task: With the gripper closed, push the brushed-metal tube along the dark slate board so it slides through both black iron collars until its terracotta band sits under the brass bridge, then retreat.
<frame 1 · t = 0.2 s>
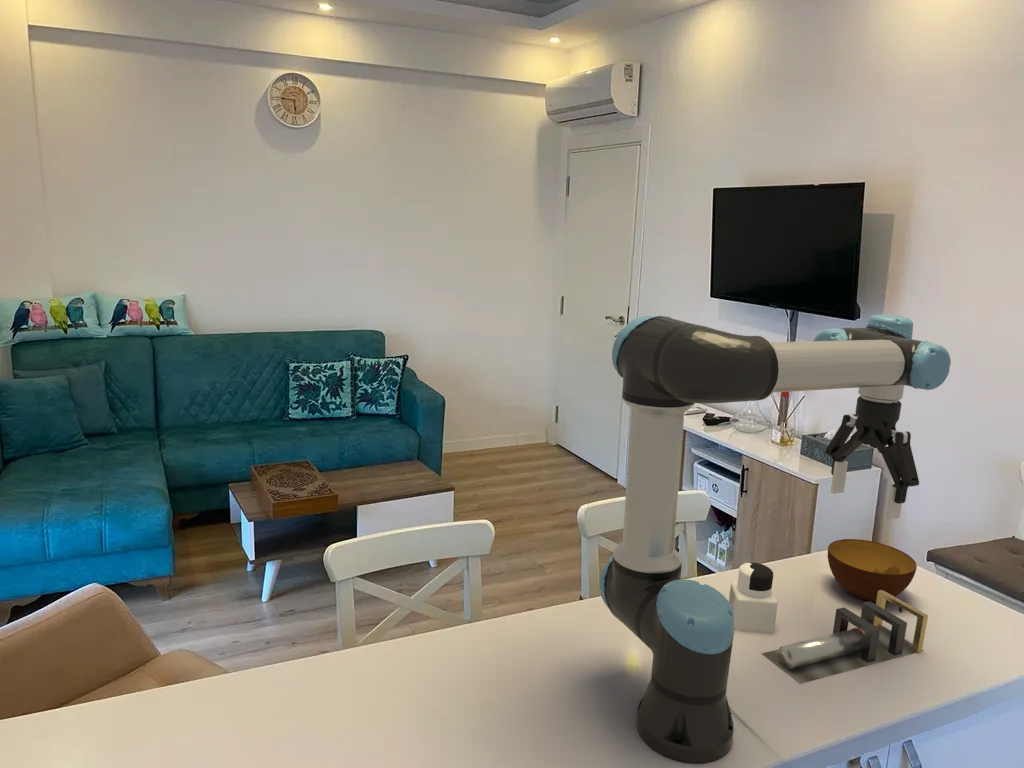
hand: (863, 504, 144), 28 cm above the kitchen counter, fingers open, 13 cm apart
board: (842, 656, 142), on the kitchen counter
collar a: (853, 649, 143), resting on board
container: (749, 627, 152), on the kitchen counter
collar b: (879, 642, 145), resting on board
bowl: (864, 598, 165), on the kitchen counter
tube: (825, 656, 140), point 1 cm above the kitchen counter, touching board
bridge: (896, 638, 147), resting on board
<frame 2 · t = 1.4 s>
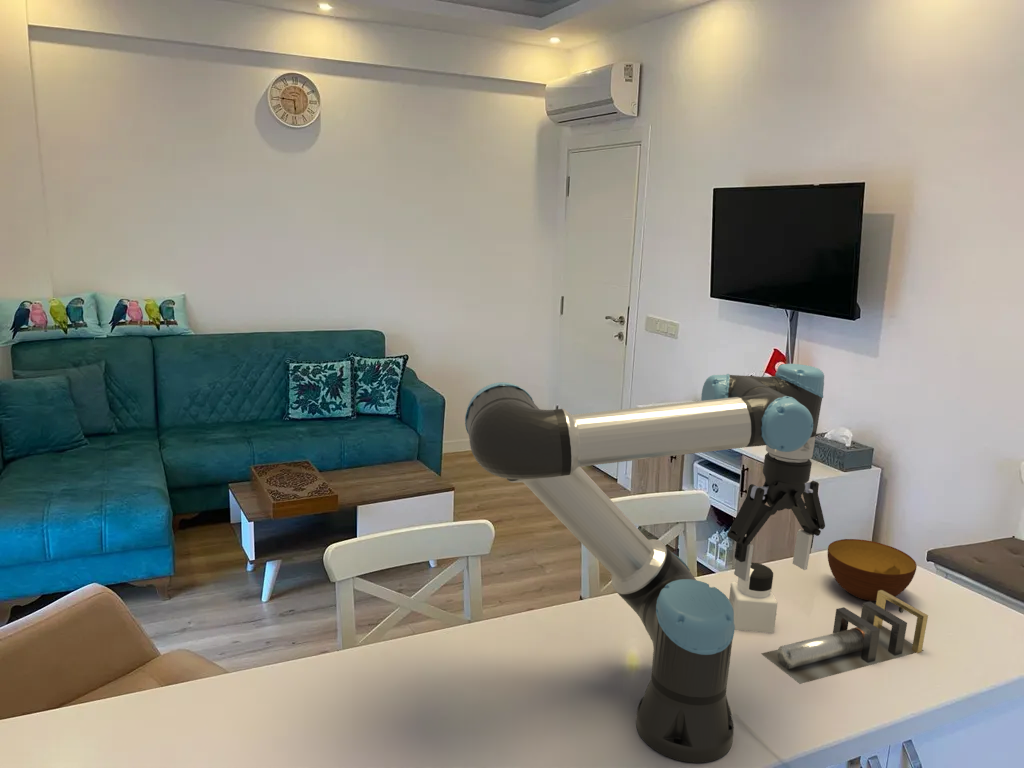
hand: (771, 572, 130), 20 cm above the kitchen counter, fingers open, 13 cm apart
nothing on the kitchen counter moved.
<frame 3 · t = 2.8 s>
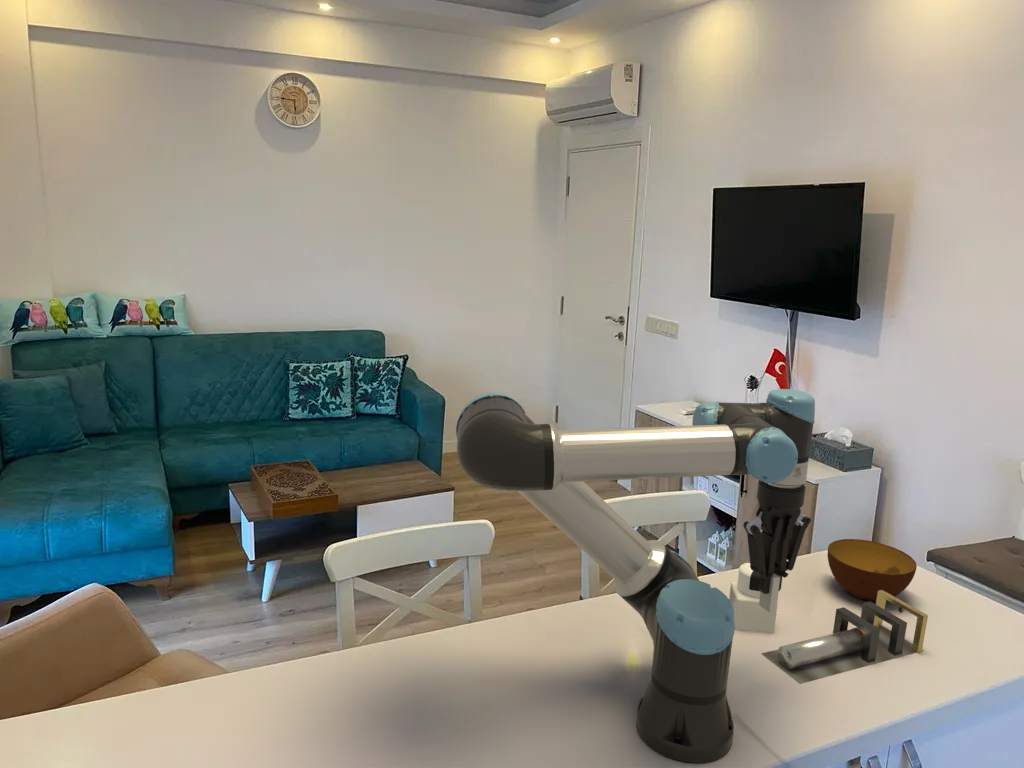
hand: (767, 608, 131), 14 cm above the kitchen counter, fingers closed
nothing on the kitchen counter moved.
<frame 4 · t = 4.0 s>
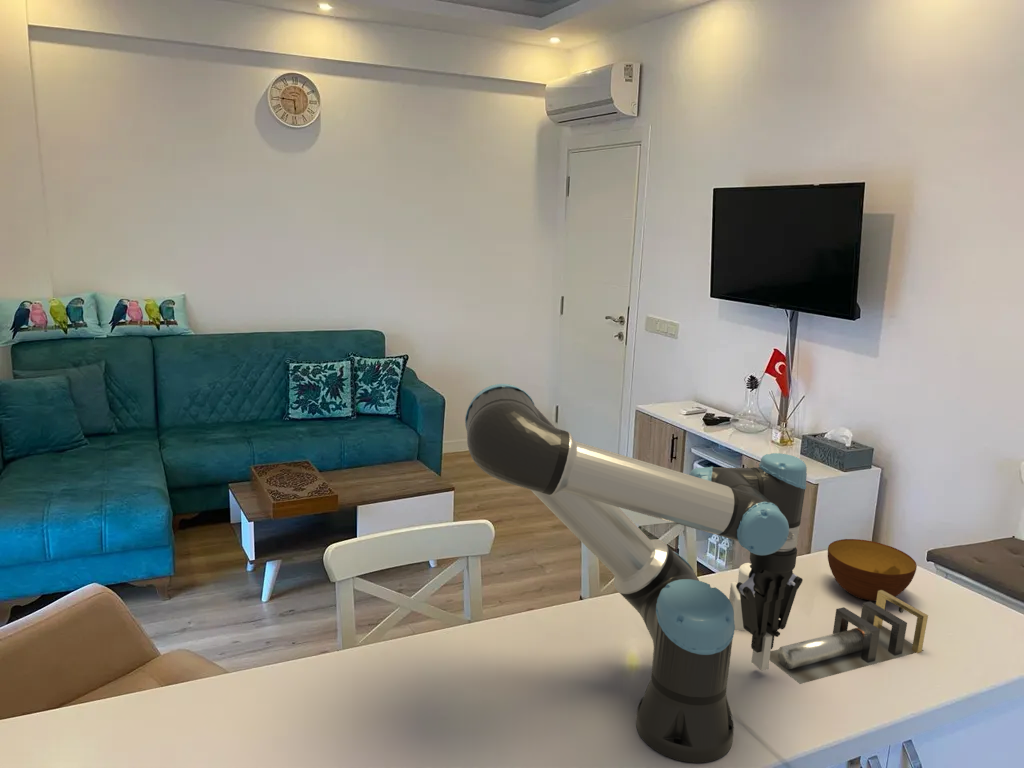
hand: (759, 665, 133), 3 cm above the kitchen counter, fingers closed
nothing on the kitchen counter moved.
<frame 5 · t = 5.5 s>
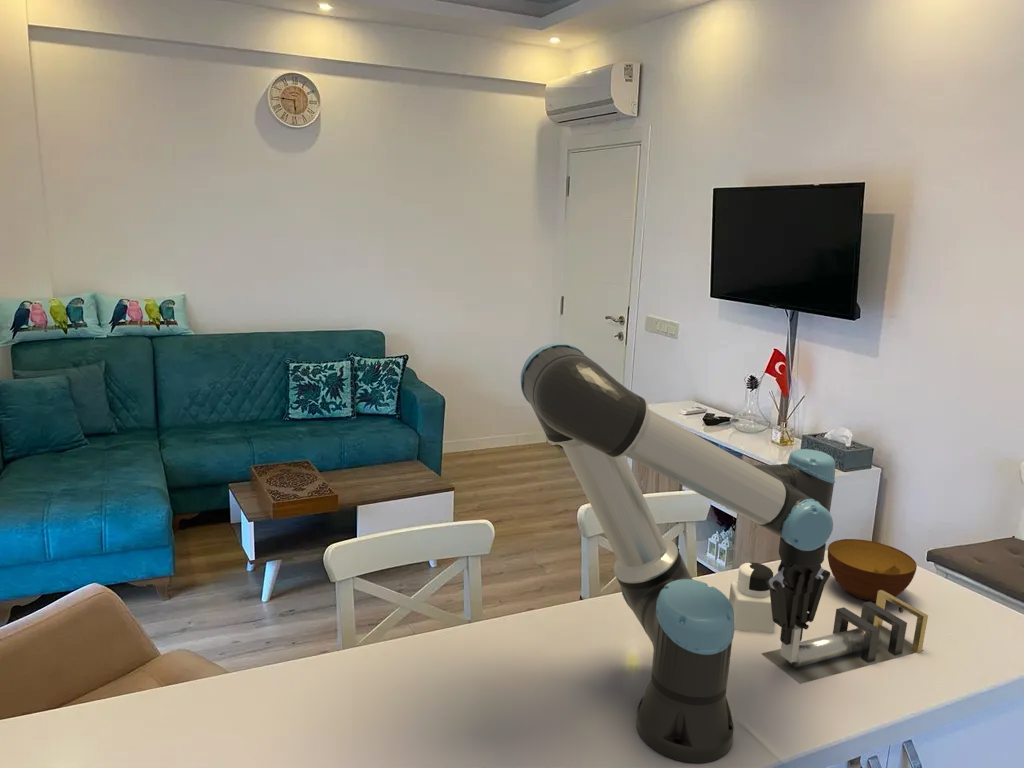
hand: (788, 657, 136), 3 cm above the kitchen counter, fingers closed
tube: (831, 655, 141), point 1 cm above the kitchen counter, touching gripper
everything else where it was.
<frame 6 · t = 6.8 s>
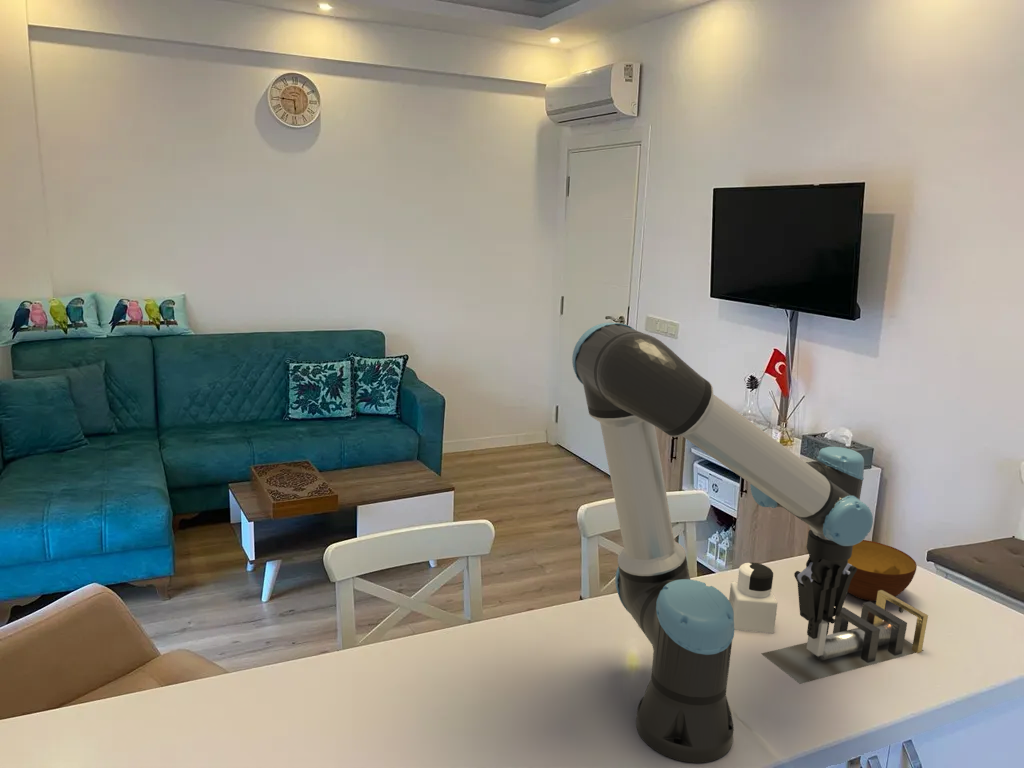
hand: (814, 651, 138), 3 cm above the kitchen counter, fingers closed
tube: (855, 648, 143), point 1 cm above the kitchen counter, touching gripper
everything else where it was.
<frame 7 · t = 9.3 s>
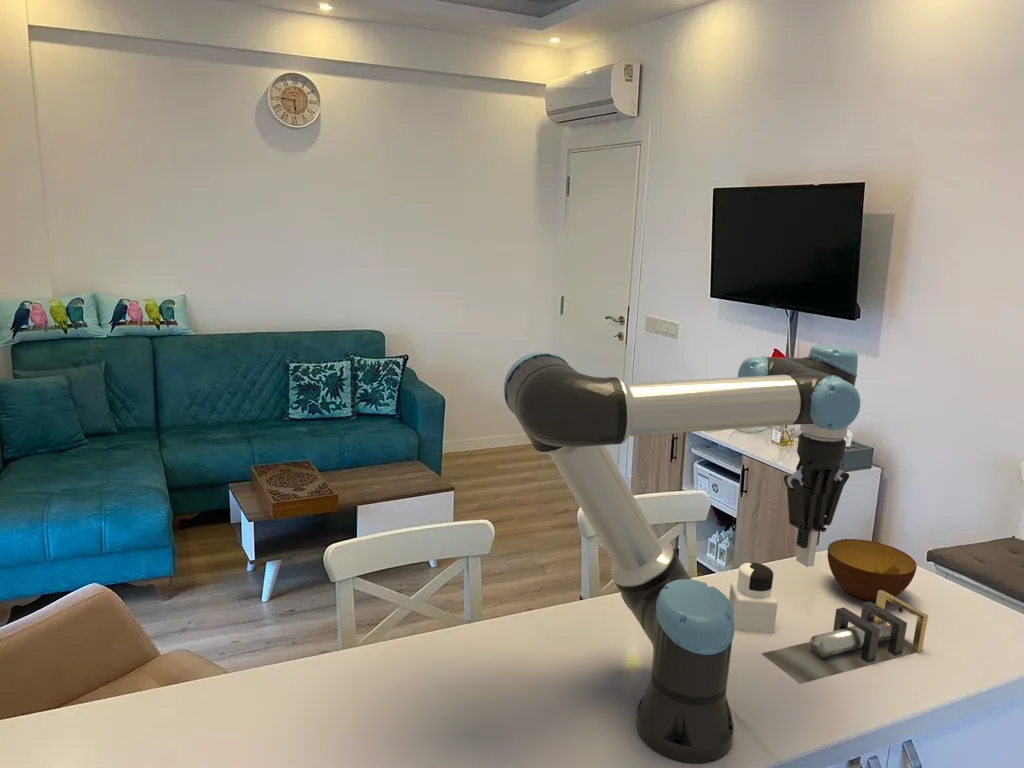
hand: (804, 562, 132), 21 cm above the kitchen counter, fingers closed
tube: (858, 647, 143), point 1 cm above the kitchen counter, tilted 15°, touching board
everything else where it was.
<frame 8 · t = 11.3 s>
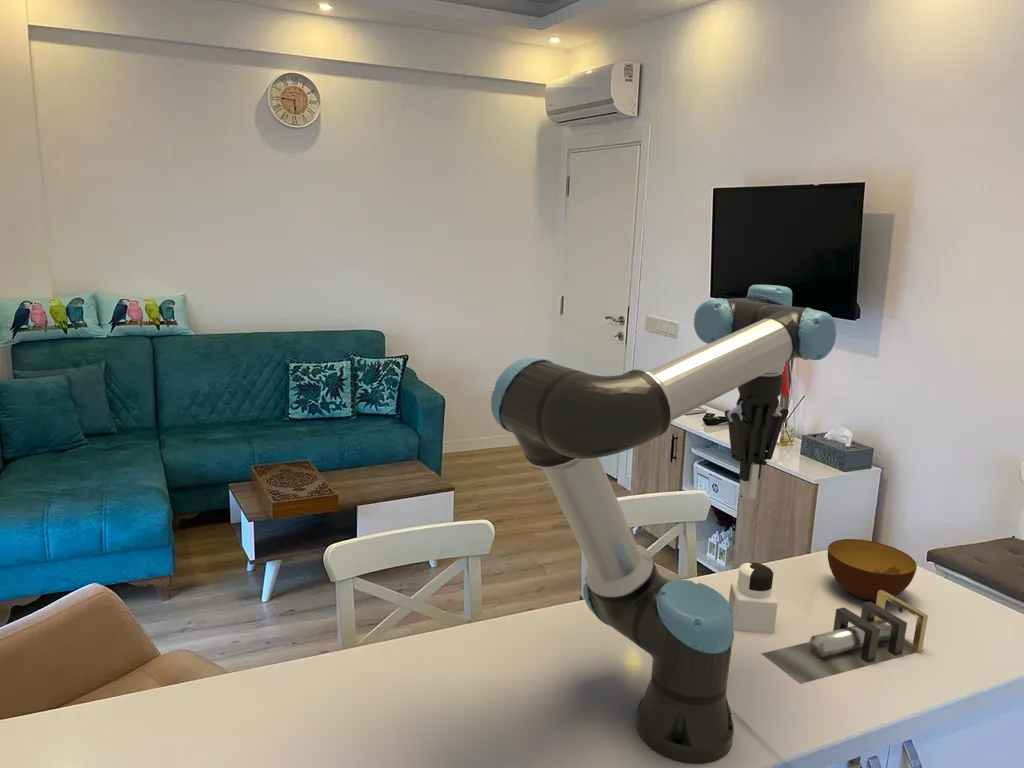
hand: (747, 496, 138), 30 cm above the kitchen counter, fingers closed
nothing on the kitchen counter moved.
at the end: tube 1.5 cm from the target spot, point 1.1 cm above the kitchen counter; tube moved 8.5 cm from its start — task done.
